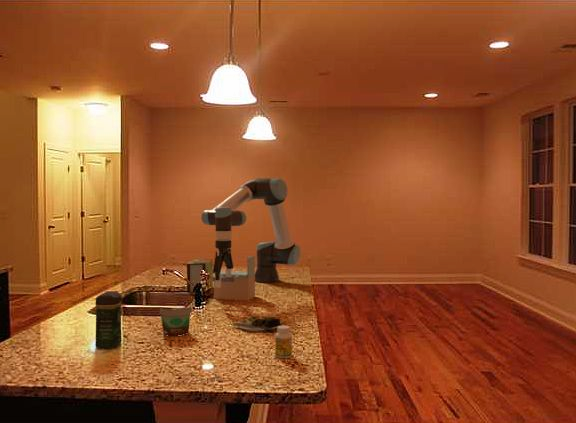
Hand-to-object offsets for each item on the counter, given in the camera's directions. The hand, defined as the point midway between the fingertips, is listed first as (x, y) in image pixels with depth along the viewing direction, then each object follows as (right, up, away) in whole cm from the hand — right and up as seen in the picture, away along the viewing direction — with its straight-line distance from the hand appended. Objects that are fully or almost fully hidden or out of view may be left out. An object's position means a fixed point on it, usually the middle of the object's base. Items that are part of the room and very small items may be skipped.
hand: (223, 284), depth 237 cm
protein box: (-17, -8, +35) cm, 40 cm away
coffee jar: (-31, -12, -64) cm, 72 cm away
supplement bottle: (+29, -13, -75) cm, 81 cm away
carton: (+4, -9, +15) cm, 18 cm away
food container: (-10, -11, -51) cm, 53 cm away
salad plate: (+20, -11, -39) cm, 46 cm away
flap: (+2, +2, +9) cm, 10 cm away
